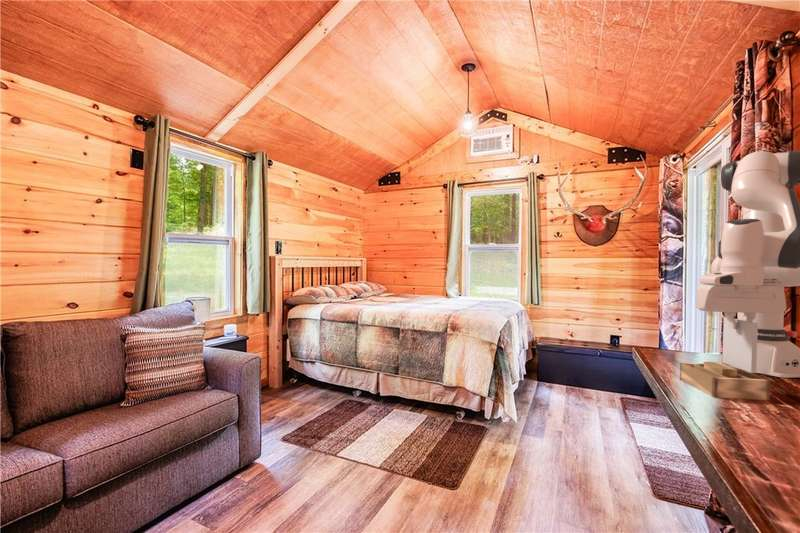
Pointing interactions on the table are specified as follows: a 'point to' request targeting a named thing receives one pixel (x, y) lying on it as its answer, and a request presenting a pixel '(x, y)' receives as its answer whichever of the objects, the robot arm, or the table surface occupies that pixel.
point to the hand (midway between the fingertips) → (739, 328)
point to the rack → (725, 383)
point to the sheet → (740, 345)
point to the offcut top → (721, 369)
